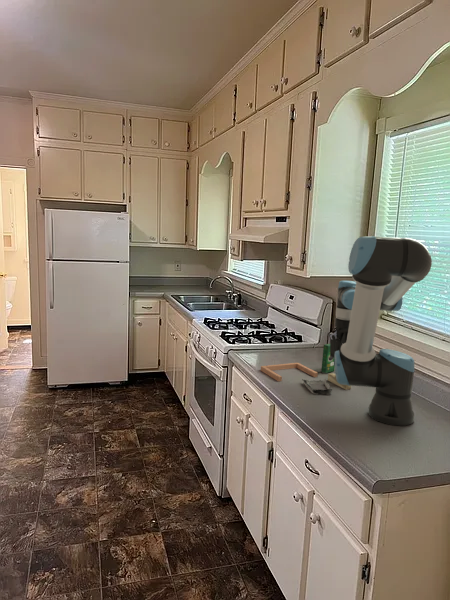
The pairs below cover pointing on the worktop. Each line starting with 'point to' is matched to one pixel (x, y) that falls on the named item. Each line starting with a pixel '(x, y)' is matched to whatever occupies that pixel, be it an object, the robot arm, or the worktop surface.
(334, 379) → the wooden scraper
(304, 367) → the tile bay
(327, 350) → the coffee box
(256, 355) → the worktop surface
